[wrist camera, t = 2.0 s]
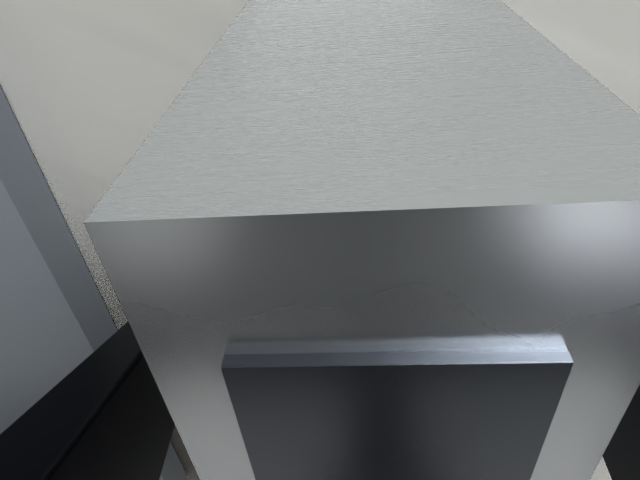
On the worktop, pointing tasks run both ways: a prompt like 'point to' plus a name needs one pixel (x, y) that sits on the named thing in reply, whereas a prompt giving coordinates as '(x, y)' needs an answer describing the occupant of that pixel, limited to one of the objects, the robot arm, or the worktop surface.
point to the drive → (385, 248)
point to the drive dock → (42, 288)
